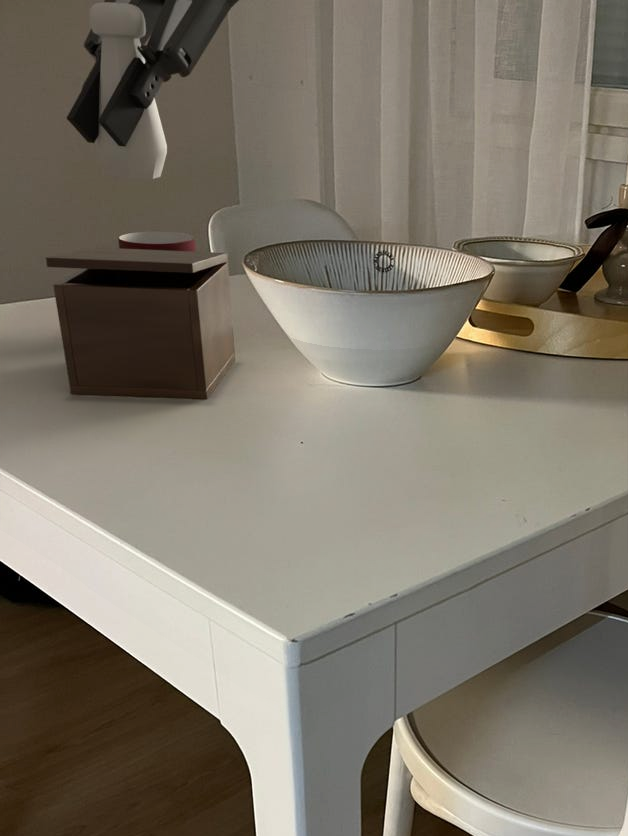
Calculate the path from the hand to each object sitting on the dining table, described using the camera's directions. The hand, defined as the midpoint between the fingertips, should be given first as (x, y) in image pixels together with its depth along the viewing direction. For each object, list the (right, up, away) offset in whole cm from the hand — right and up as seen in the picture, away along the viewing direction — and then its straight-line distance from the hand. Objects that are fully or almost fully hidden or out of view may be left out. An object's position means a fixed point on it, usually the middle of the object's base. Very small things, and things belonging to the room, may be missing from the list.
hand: (96, 131), depth 85 cm
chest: (0, -16, +16) cm, 23 cm away
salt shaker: (+2, -2, +5) cm, 6 cm away
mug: (-4, -7, +32) cm, 33 cm away
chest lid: (+1, -7, +10) cm, 13 cm away
